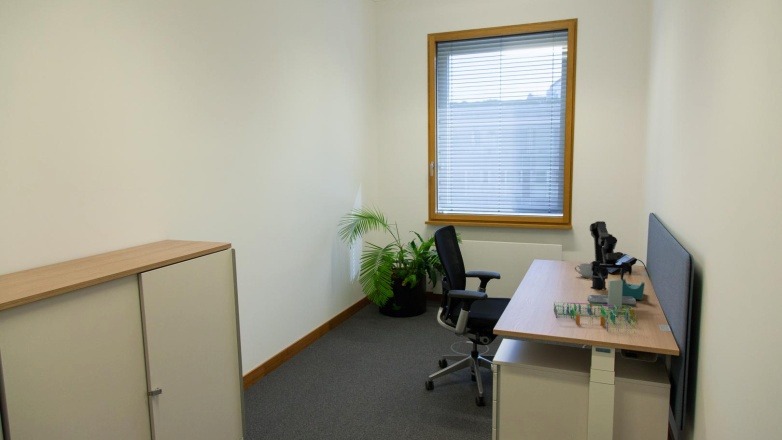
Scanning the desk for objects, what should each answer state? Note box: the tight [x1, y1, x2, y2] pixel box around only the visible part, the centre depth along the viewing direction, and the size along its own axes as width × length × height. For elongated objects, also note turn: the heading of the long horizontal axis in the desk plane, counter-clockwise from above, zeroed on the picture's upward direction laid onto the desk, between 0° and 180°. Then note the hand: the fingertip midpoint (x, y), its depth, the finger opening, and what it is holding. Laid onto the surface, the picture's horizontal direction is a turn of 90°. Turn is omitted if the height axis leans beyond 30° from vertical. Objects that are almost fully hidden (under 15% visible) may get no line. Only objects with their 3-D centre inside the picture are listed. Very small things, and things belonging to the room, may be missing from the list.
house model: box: [553, 301, 639, 334], centre depth 228 cm, size 35×30×5 cm
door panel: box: [607, 278, 623, 309], centre depth 250 cm, size 6×3×14 cm, turn 78°
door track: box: [587, 294, 637, 307], centre depth 258 cm, size 22×8×3 cm, turn 78°
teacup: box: [573, 262, 594, 279], centre depth 321 cm, size 14×11×8 cm
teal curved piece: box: [622, 278, 645, 301], centre depth 271 cm, size 18×11×10 cm, turn 151°
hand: (612, 280), depth 256 cm, fingers open, 9 cm apart
